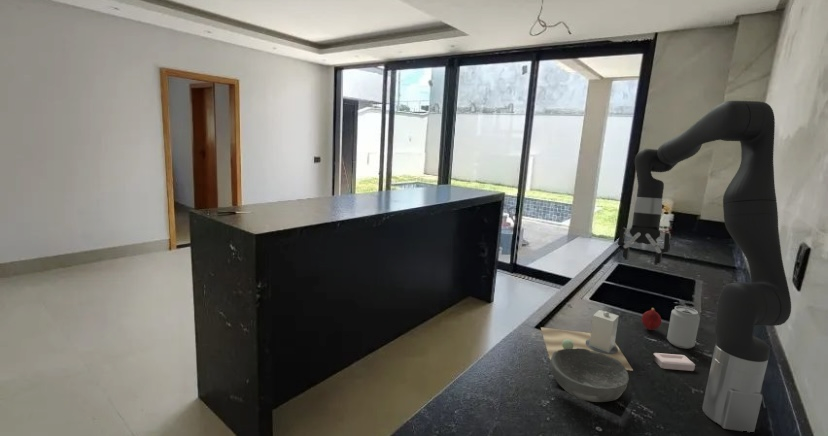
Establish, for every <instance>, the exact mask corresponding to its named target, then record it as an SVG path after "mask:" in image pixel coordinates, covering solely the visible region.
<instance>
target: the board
mask: <svg viewBox="0 0 828 436" xmlns="http://www.w3.org/2000/svg"><path fill="white" fill-rule="evenodd" d="M540 329H541V333H542V336H543V337H542V338H543V341H544V343H545V348H546V350H547V354H548V358H549V360H550V361H551V357H552V355H553V353H554V352H555V351H558V350H562V349H564V348H563V346H562V342H563V341H564V340H566V339H568V340H571V341H572V342H573V345H574V347H573V349H577V348H579V349H588V350H590V351H594V352H597V353H601V354H604V355H606V356H610V357H612V358H614V359H616V360H618V361H619V362H621V364H622V365H623V366H624V367H625V369H626V371H632V372H633V371H634V369H633V368H632V366H631V365H630V363H629V362H628V360H627V358H626V357H625V355H624V354H623V351H621V349H620V348H619V346H618V345H617V343H616V342H615V344H614V347H613V348H612V349H611V350H610V352H609V353H608V352H606V351H603V350H600V349H597V348H595V347H592V346H589V343H590V336H591V332H583V331H576V330H575V331H574V330H566V329H559V328H557V329H556V328H551V327H550V328H549V327H541V326H540Z"/></svg>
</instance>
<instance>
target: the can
mask: <svg viewBox="0 0 828 436" xmlns="http://www.w3.org/2000/svg"><path fill="white" fill-rule="evenodd" d="M700 320H701V317H700V315H699V312H698V310H696V309H694V308H692V307H688V306H685V305H676V306H674V309H672V310H671V313H670V318H669V324H668V329H667V330H668V331H667V335H666V339H667V341H668V342H669V343H670V344H671V345H673V346H674V347H677V348H680V349H691V348H694V347H696V346H695V345H696V340H697V334H698V330H699V325H700Z"/></svg>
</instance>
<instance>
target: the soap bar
mask: <svg viewBox="0 0 828 436" xmlns="http://www.w3.org/2000/svg"><path fill="white" fill-rule="evenodd" d="M653 356H654V358H653V359H652V360H653V361H654V362H655V364H657V365H658V366H659V367H660V368H661V369H665V370H679V371H691V372H693V371H695V369H696V367H695V366H696V364H695V363H694V362H693V361H692V360H690V359H689V358H688V357H687V356H686V355H684V354H673V353H672V354H671V353H660V352H654V353H653Z"/></svg>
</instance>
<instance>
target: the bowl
mask: <svg viewBox="0 0 828 436" xmlns="http://www.w3.org/2000/svg"><path fill="white" fill-rule="evenodd" d="M550 371H551V374H552V375H553V378H554V380H555V381H556V383H558V385H559V387H561V388H562V389H564V391H565V392H566V393H568V394H569V395H571V396H573V397H574V396H575V397H574V398H577V399H580V400H583V401H587V402H592V403H594V402H595V403H605V402H613V401H616V400H618V399H619V398H620V397H621V396H622V394H623V393H624V392H625V391H626V389H627V388H628V382H629V380H630V378H629V372H628V370H626V369H625V367H624V366H623V365H622V364H621V362H619V361H618V360H616V359H614V358H612V357H610V356H606V355H604V354H601V353H597V352H594V351H590V350H588V349H579V348H577V349H570V348H569V349H562V350H558V351H555V352H554V353H553V355H552V357H551V360H550Z"/></svg>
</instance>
